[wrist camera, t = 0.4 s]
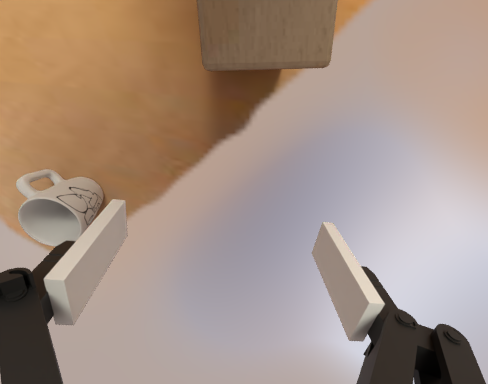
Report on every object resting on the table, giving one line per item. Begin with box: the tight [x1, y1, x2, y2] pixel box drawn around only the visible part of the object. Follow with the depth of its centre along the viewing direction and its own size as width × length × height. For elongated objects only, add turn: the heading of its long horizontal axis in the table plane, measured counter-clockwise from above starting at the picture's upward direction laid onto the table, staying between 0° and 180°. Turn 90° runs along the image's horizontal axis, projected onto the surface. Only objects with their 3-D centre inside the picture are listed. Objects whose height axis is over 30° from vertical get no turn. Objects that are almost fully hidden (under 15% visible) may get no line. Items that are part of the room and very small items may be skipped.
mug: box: [16, 169, 103, 246], centre depth 40 cm, size 11×8×10 cm
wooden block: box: [197, 0, 338, 71], centre depth 26 cm, size 10×10×20 cm
